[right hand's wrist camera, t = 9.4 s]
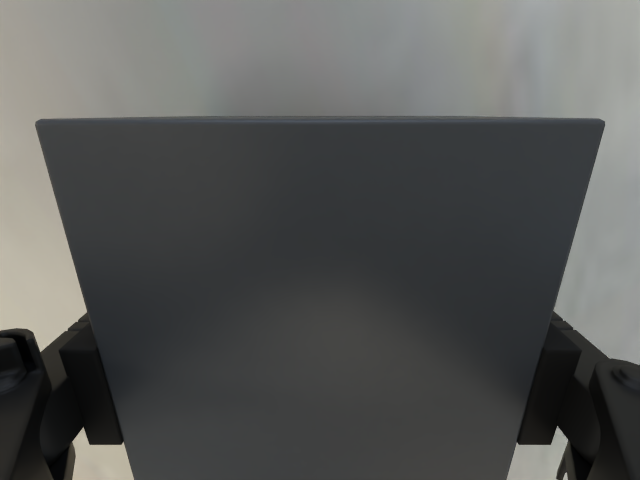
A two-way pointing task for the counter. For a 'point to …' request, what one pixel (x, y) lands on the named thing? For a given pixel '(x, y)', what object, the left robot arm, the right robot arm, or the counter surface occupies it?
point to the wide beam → (320, 285)
